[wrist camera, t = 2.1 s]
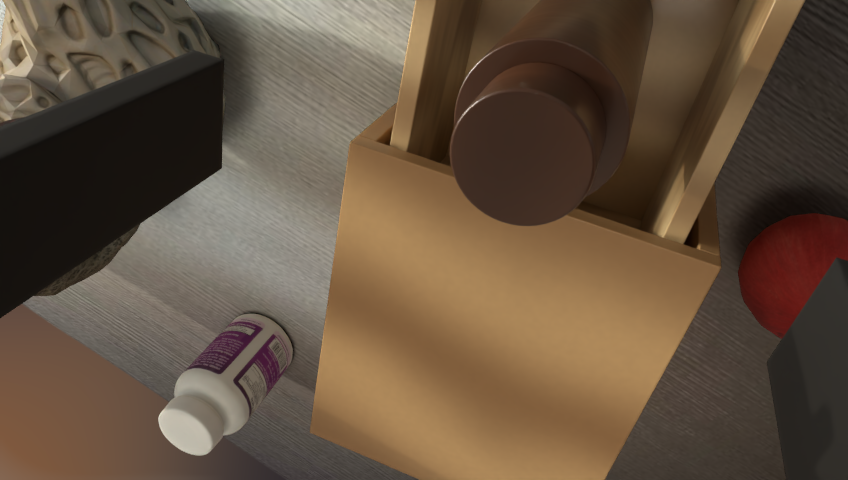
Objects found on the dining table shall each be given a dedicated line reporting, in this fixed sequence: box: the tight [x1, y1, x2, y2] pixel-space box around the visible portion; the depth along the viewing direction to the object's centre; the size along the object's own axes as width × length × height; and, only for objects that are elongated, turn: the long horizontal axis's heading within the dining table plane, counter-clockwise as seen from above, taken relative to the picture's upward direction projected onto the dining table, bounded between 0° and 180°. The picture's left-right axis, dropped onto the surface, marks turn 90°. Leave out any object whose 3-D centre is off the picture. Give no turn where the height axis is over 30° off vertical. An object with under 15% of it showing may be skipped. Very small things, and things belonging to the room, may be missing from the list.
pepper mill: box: [450, 0, 653, 226], centre depth 22 cm, size 5×5×16 cm
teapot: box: [0, 0, 225, 296], centre depth 34 cm, size 21×12×15 cm, turn 166°
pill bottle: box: [158, 314, 293, 455], centre depth 45 cm, size 5×5×10 cm
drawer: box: [390, 0, 805, 244], centre depth 26 cm, size 21×13×9 cm, turn 169°
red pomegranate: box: [738, 213, 848, 339], centre depth 29 cm, size 6×6×8 cm
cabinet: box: [310, 103, 721, 480], centre depth 34 cm, size 18×15×11 cm
